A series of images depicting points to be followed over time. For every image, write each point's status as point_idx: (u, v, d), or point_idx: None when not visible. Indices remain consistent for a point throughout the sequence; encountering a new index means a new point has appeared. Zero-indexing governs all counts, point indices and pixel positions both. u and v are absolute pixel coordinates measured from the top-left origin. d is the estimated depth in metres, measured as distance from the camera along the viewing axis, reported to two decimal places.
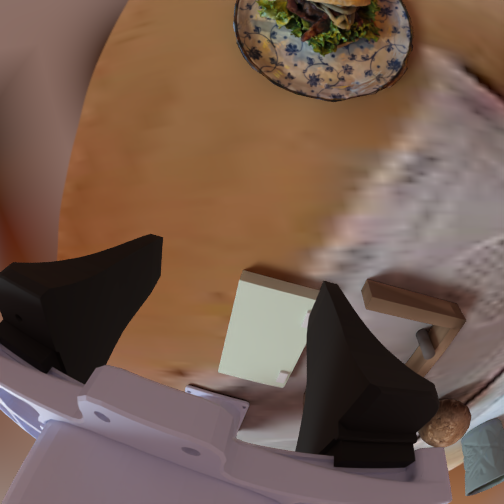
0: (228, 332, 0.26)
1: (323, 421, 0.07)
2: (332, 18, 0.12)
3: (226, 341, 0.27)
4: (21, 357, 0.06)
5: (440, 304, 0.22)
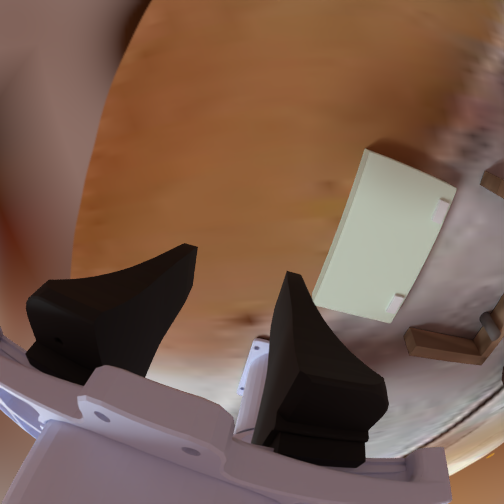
0: (342, 234, 0.19)
1: (269, 412, 0.07)
2: None
3: (336, 249, 0.20)
4: None
5: None
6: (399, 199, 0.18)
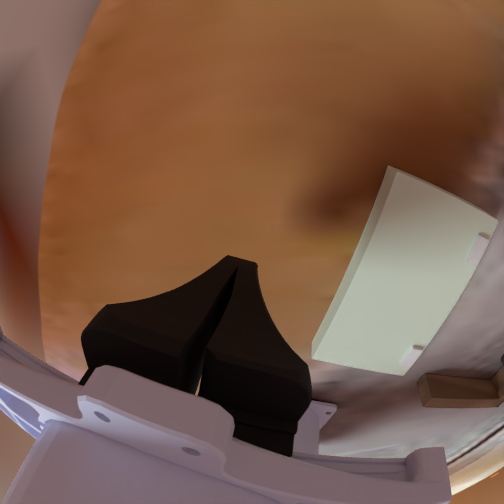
0: (354, 279, 0.15)
1: None
2: None
3: (346, 298, 0.15)
4: None
5: None
6: (430, 235, 0.13)
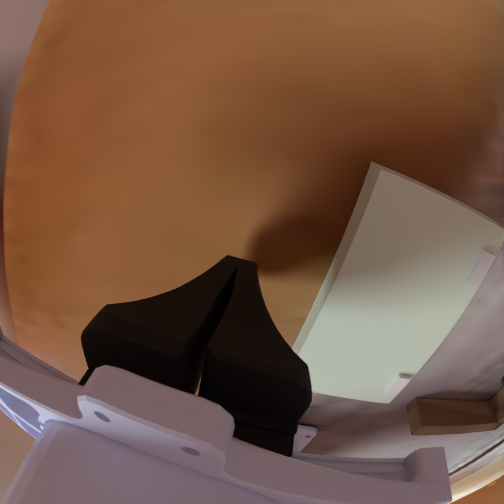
0: (327, 302, 0.12)
1: None
2: None
3: (317, 323, 0.13)
4: None
5: None
6: (423, 250, 0.10)
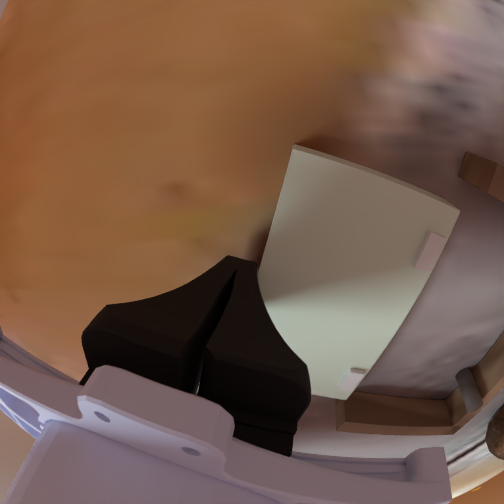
0: None
1: None
2: None
3: None
4: None
5: None
6: (354, 232, 0.11)
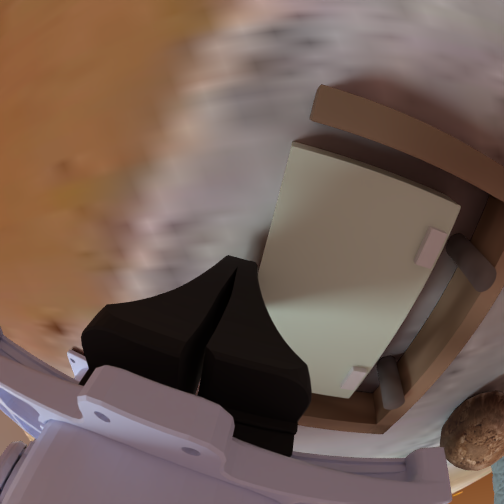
0: None
1: None
2: None
3: None
4: None
5: None
6: (354, 229, 0.10)
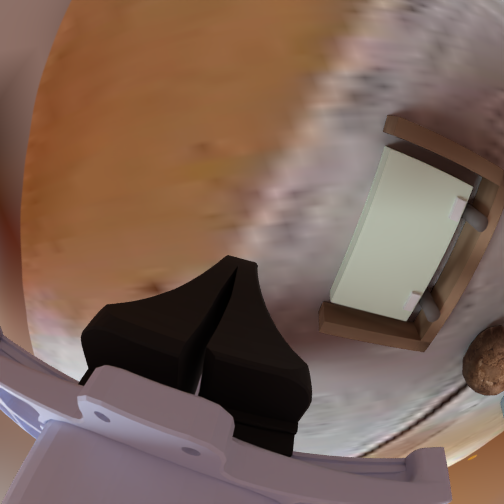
0: (363, 231, 0.19)
1: None
2: None
3: (356, 246, 0.20)
4: None
5: None
6: (418, 196, 0.17)
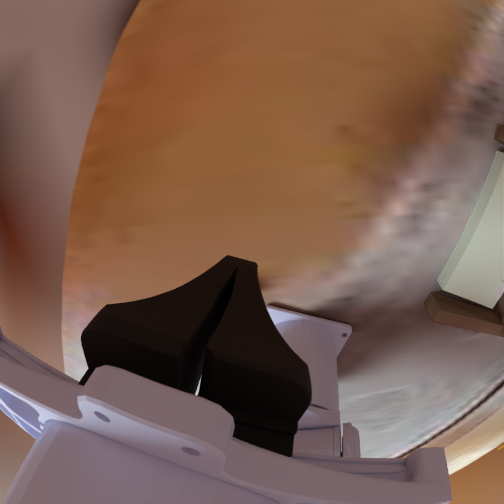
0: (480, 223, 0.17)
1: None
2: None
3: (473, 237, 0.18)
4: None
5: None
6: None
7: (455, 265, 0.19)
